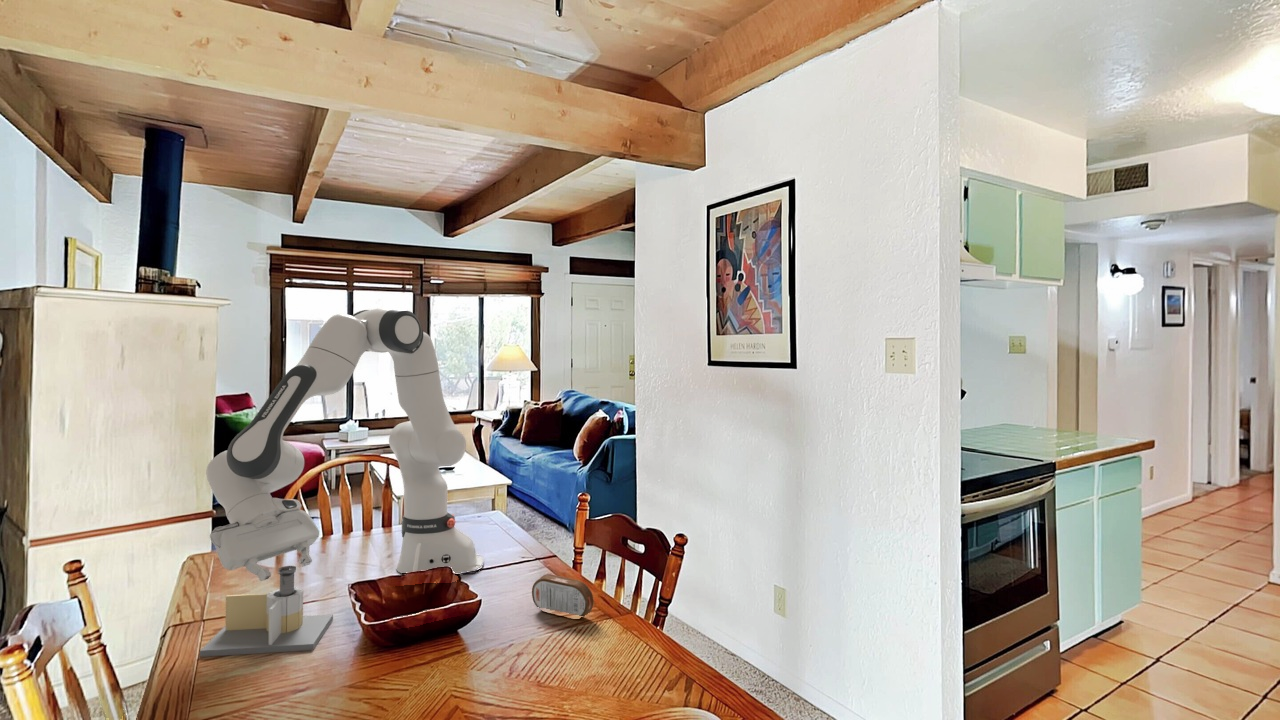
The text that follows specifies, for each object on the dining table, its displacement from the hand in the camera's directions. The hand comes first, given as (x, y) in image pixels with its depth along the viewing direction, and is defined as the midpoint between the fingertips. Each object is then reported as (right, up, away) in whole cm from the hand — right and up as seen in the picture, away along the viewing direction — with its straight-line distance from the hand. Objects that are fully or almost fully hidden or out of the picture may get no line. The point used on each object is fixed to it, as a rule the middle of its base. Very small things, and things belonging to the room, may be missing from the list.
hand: (287, 571), depth 134 cm
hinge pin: (-1, -12, +1) cm, 12 cm away
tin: (+55, -14, +12) cm, 58 cm away
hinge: (-2, -13, -2) cm, 13 cm away
